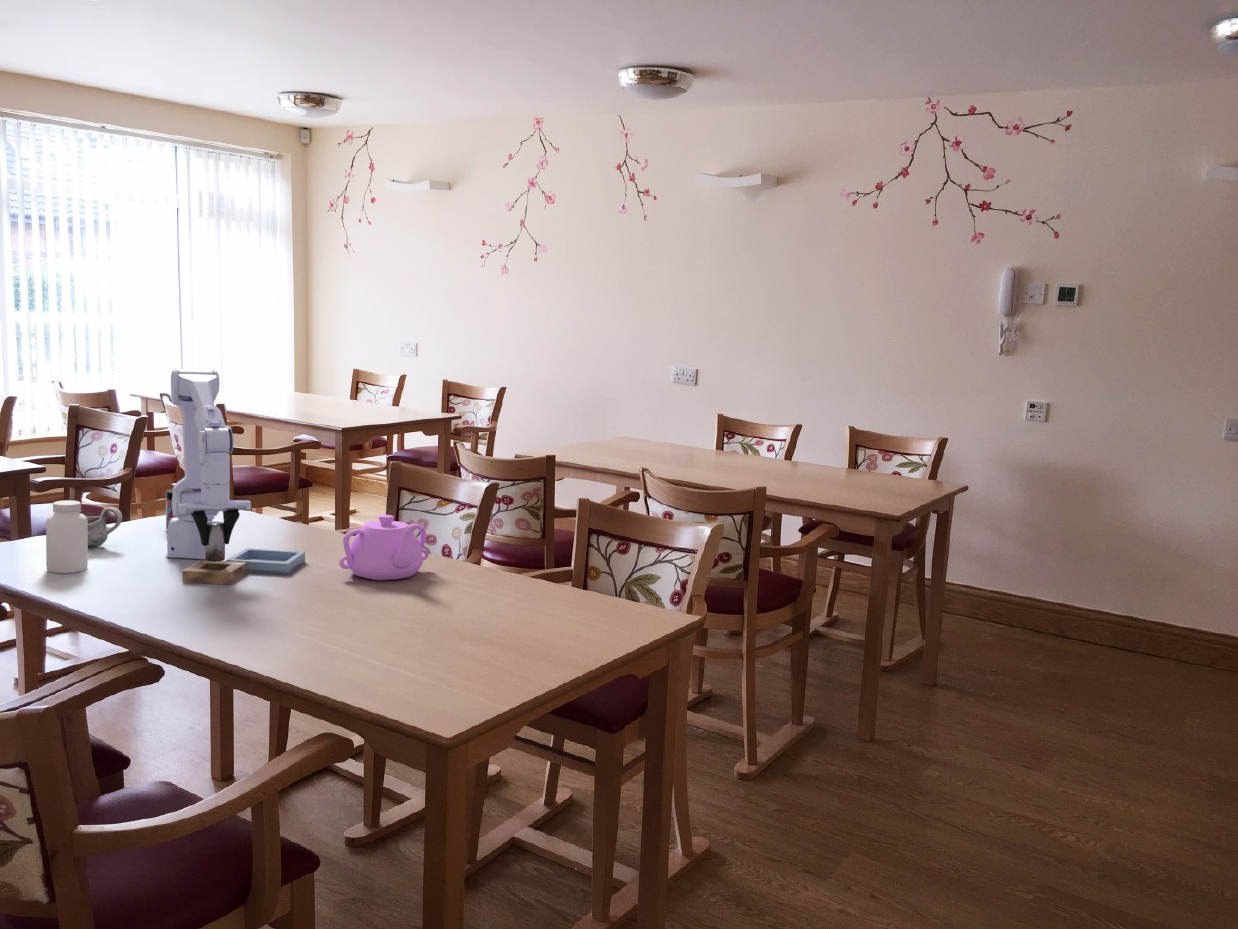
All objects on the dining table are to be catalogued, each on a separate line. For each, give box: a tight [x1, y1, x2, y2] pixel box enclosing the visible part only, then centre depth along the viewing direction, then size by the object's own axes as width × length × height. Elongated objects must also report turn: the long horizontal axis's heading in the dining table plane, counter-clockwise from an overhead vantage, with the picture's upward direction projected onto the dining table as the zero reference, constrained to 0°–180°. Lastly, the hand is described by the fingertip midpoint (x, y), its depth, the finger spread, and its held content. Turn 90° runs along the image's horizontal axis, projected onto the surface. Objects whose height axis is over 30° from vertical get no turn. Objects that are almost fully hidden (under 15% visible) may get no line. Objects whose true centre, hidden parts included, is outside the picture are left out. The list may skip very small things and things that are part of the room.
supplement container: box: [165, 488, 195, 530], centre depth 262 cm, size 7×7×10 cm
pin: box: [204, 521, 226, 562], centre depth 219 cm, size 4×4×8 cm
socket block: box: [181, 559, 247, 586], centre depth 220 cm, size 10×10×2 cm
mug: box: [86, 506, 123, 550], centre depth 238 cm, size 10×12×10 cm
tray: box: [225, 547, 306, 576], centre depth 232 cm, size 14×12×2 cm
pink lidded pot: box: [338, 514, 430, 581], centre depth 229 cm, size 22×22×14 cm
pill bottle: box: [45, 499, 89, 574], centre depth 218 cm, size 8×8×15 cm
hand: (215, 544), depth 219 cm, fingers closed on pin, 4 cm apart
